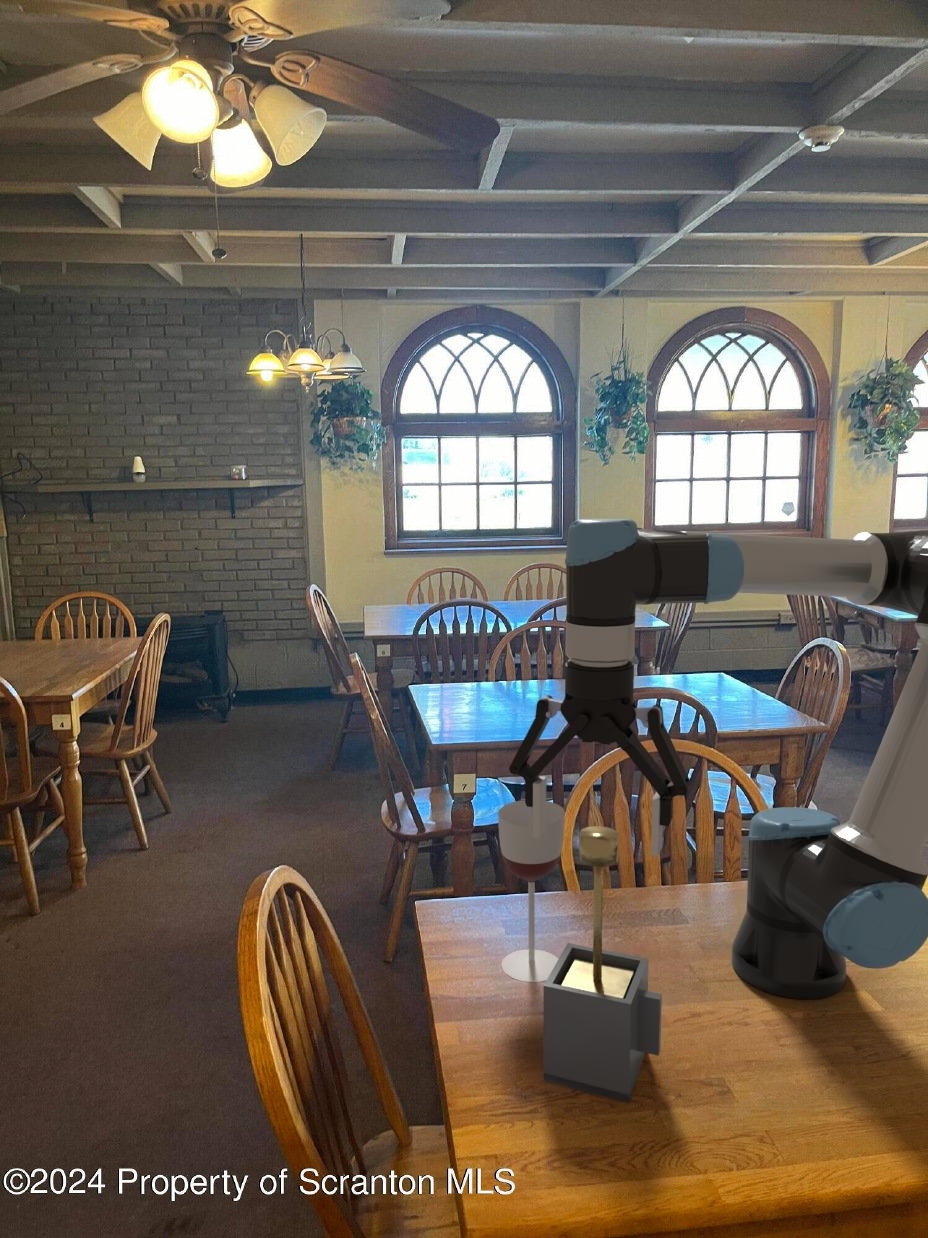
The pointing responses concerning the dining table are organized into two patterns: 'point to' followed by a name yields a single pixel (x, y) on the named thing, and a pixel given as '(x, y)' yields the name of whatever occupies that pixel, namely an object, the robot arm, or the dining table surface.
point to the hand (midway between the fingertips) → (596, 842)
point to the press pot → (599, 1028)
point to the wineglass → (530, 876)
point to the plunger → (598, 919)
